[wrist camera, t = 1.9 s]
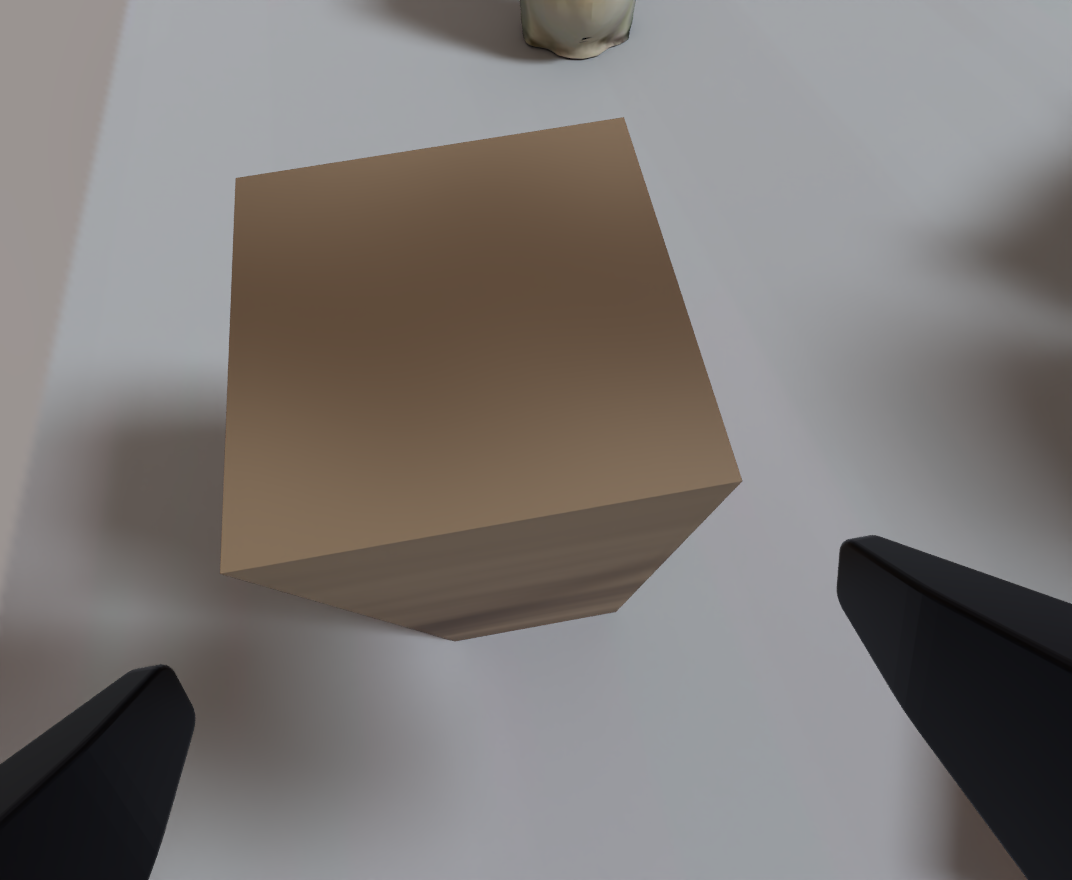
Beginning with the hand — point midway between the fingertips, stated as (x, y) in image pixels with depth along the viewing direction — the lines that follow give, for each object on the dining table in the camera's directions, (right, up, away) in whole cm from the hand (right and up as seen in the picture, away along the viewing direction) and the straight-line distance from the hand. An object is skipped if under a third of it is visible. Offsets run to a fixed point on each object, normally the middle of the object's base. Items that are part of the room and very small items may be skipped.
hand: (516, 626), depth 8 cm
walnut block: (0, -1, +11) cm, 11 cm away
